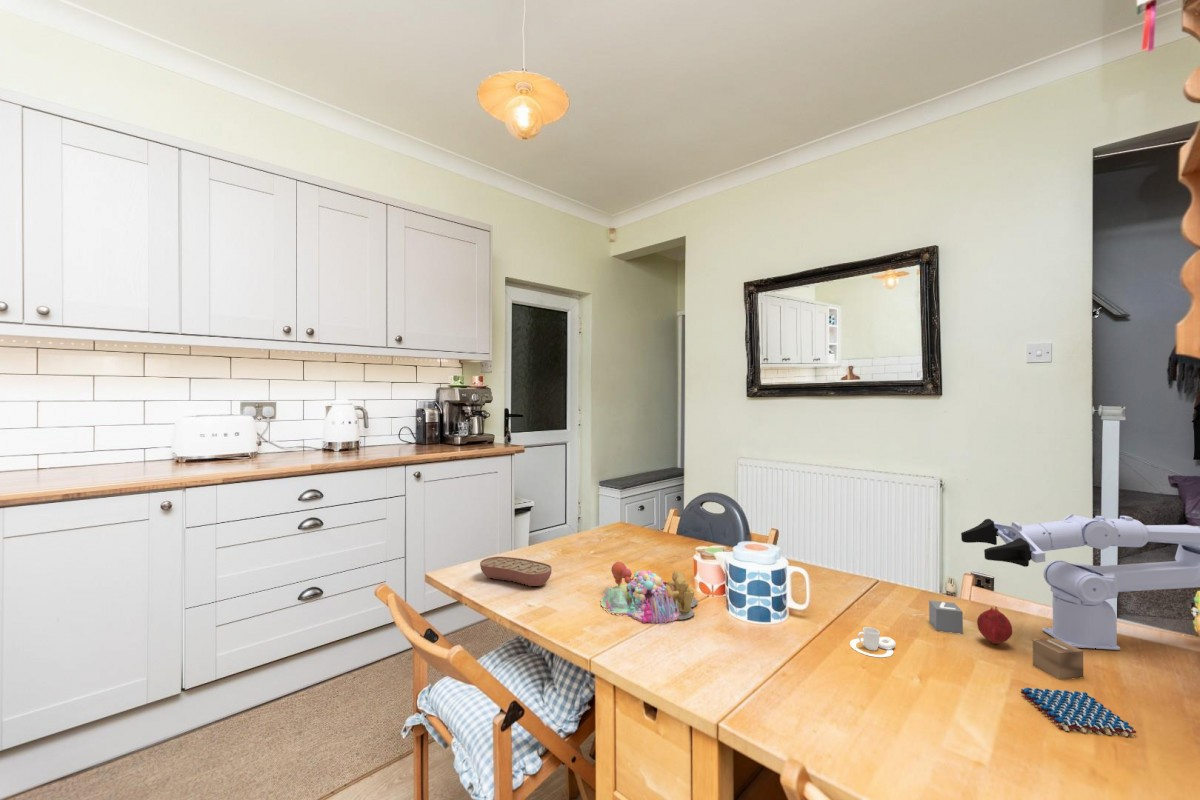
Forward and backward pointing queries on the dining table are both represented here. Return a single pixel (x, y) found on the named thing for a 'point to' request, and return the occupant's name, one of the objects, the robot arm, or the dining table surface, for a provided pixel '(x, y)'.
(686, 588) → the candy landscape model
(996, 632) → the onion
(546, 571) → the patterned shoe sole
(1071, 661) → the walnut block
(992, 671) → the dining table surface
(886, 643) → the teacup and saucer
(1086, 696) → the woven mat
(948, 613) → the slate grey block
